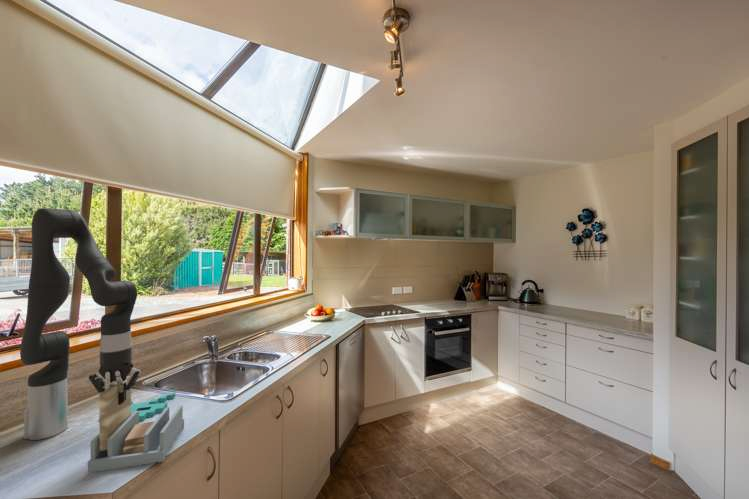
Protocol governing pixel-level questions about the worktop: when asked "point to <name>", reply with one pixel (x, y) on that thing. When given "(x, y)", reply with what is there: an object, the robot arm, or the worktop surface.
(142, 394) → the worktop surface
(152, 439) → the rack
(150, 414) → the alien figure
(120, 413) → the light wooden flat slab
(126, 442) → the offcut stack
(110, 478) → the worktop surface
